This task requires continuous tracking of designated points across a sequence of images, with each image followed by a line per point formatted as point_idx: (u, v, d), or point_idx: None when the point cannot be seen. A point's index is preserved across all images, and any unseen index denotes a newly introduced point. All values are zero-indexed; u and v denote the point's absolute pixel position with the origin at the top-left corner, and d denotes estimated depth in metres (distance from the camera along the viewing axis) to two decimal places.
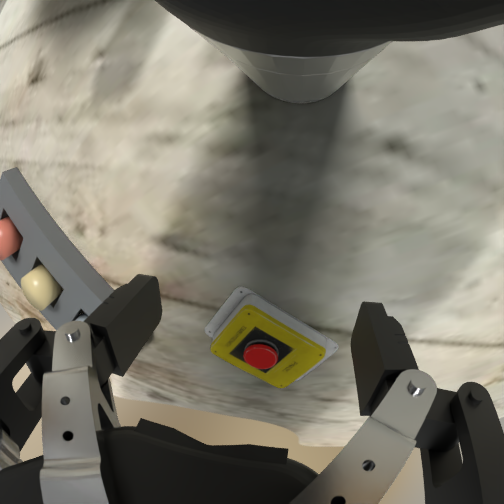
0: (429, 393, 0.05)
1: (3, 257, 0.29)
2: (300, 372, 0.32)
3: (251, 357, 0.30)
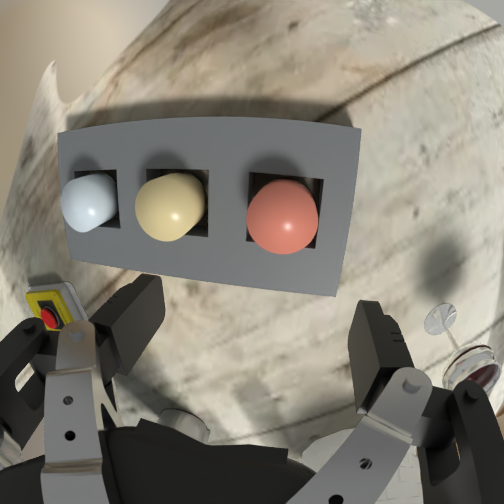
0: (424, 391, 0.05)
1: (250, 210, 0.22)
2: (35, 315, 0.38)
3: (48, 317, 0.36)
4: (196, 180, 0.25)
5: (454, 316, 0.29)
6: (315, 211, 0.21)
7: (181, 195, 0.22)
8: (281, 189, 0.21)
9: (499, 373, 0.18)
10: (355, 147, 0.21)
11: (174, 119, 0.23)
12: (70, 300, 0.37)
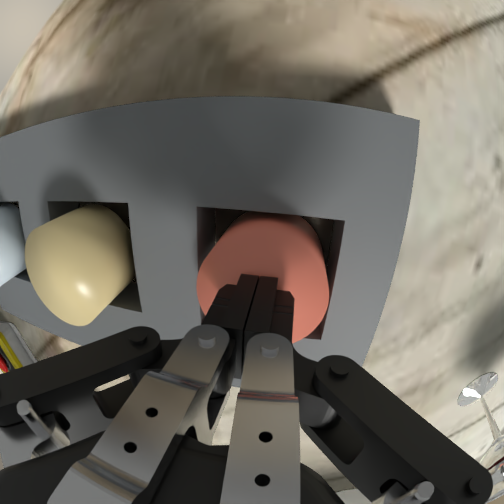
0: (279, 356, 0.07)
1: (203, 278, 0.12)
2: None
3: None
4: (113, 219, 0.14)
5: (494, 384, 0.17)
6: (324, 282, 0.11)
7: (74, 258, 0.11)
8: (258, 241, 0.11)
9: None
10: (408, 157, 0.10)
11: (75, 117, 0.11)
12: (17, 343, 0.26)
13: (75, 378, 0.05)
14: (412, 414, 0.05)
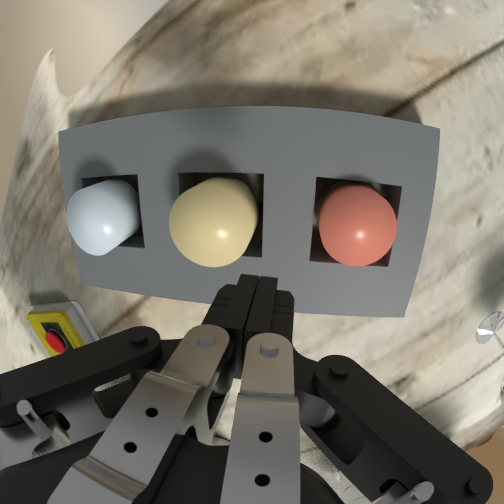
0: (279, 356, 0.07)
1: (325, 218, 0.19)
2: (40, 337, 0.34)
3: (55, 341, 0.31)
4: (245, 186, 0.20)
5: (502, 323, 0.23)
6: (394, 218, 0.18)
7: (235, 208, 0.17)
8: (360, 194, 0.18)
9: None
10: (434, 150, 0.16)
11: (215, 108, 0.18)
12: (78, 321, 0.32)
13: (74, 378, 0.05)
14: (412, 414, 0.05)
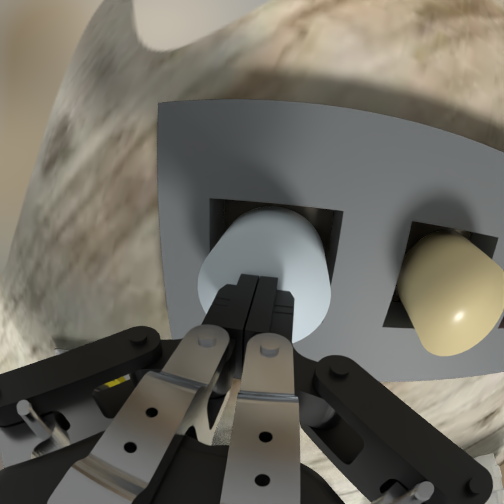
0: (279, 356, 0.07)
1: None
2: None
3: None
4: None
5: None
6: None
7: (500, 289, 0.10)
8: None
9: None
10: None
11: (471, 142, 0.10)
12: None
13: (75, 378, 0.05)
14: (413, 414, 0.05)
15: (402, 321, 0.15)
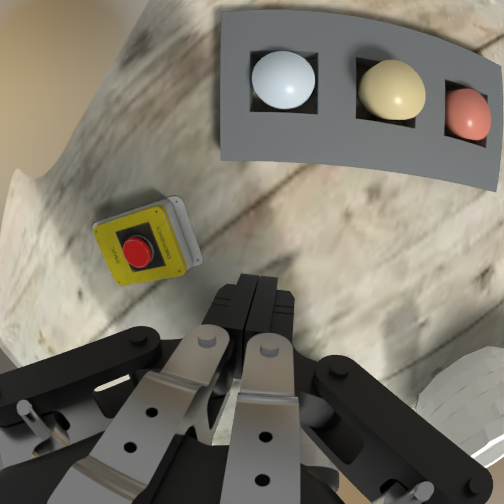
0: (279, 356, 0.07)
1: (456, 103, 0.19)
2: (106, 257, 0.34)
3: (139, 248, 0.31)
4: None
5: None
6: (489, 111, 0.19)
7: (416, 79, 0.18)
8: (471, 91, 0.18)
9: None
10: (500, 77, 0.17)
11: (382, 22, 0.18)
12: (175, 221, 0.32)
13: (75, 378, 0.05)
14: (412, 414, 0.05)
15: None
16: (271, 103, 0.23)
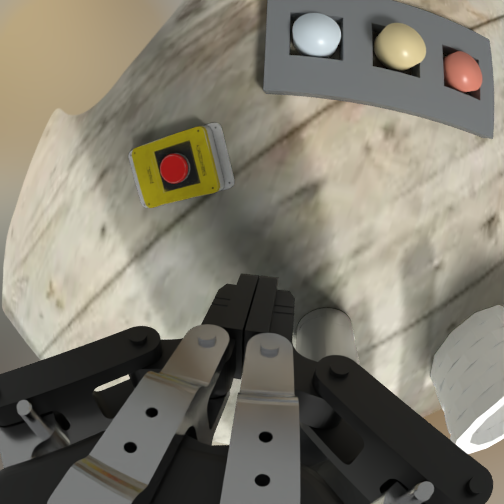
0: (279, 356, 0.07)
1: (451, 60, 0.22)
2: (140, 178, 0.36)
3: (177, 163, 0.33)
4: None
5: None
6: (480, 70, 0.21)
7: (418, 37, 0.20)
8: (464, 54, 0.21)
9: None
10: (488, 48, 0.19)
11: (391, 1, 0.21)
12: (213, 144, 0.35)
13: (75, 378, 0.05)
14: (412, 414, 0.05)
15: None
16: (307, 48, 0.25)
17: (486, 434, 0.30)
